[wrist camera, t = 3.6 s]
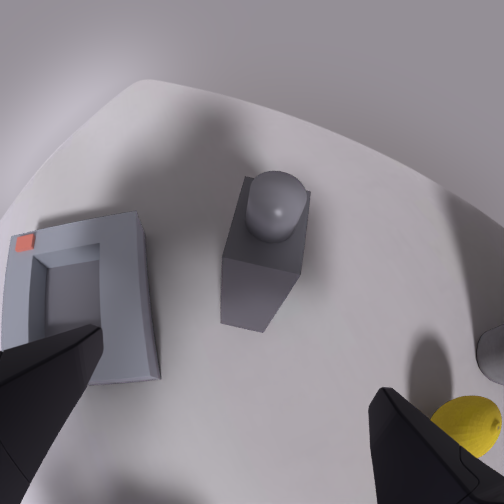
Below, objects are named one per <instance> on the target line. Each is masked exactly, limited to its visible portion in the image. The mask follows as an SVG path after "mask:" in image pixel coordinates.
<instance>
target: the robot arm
mask: <svg viewBox="0 0 504 504" xmlns="http://www.w3.org/2000/svg"><path fill="white" fill-rule="evenodd" d="M103 351H104V343H103V330H102V328H101V327H99V326H97V325H94V324H87V325H84V326H81V327H78V328H74V329H71V330H68V331H65V332H62V333H59V334H55V335H52V336H49V337H46V338H42V339H39V340H36V341H33V342H29V343H26V344H23V345H19V346H16V347H13V348H9V349H6V350H3V351H0V504H20V503H21V501H22V499H23V497H24V495H25V493H26V491H27V489H28V487H29V486H30V483H31V481H32V479H33V478H34V476H35V474H36V472H37V470H38V468H39V467H40V465H41V463H42V461H43V459H44V458H45V456H46V454H47V452H48V450H49V449H50V447H51V445H52V443H53V442H54V440H55V438H56V437H57V435H58V433H59V432H60V430H61V428H62V427H63V425H64V423H65V422H66V420H67V418H68V417H69V415H70V413H71V412H72V410H73V408H74V407H75V405H76V404H77V402H78V400H79V399H80V397H81V396H82V394H83V392H84V391H85V389H86V387H87V385H88V383H89V381H90V379H91V377H92V375H93V373H94V370H95V368H96V366H97V364H98V362H99V360H100V358H101V356H102V354H103ZM368 414H369V432H370V449H371V457H372V464H373V471H374V479H375V487H376V495H377V504H504V476H502V475H501V474H499V473H498V472H496V471H495V470H493V469H492V468H490V467H489V466H487V465H486V464H485V463H483V462H482V461H480V460H479V459H477V458H476V457H475V456H474V455H472V454H471V453H470V452H468V451H467V450H466V449H465V448H464V447H462V446H461V445H460V446H459V443H457V442H456V441H455V440H454V439H453V438H451V437H450V436H449V435H448V434H447V433H445V432H444V431H443V430H442V429H441V428H439V427H438V426H437V425H436V424H435V423H433V422H432V421H431V420H430V419H429V418H427V417H426V416H425V415H424V414H423V413H421V412H420V411H419V410H418V409H417V408H415V407H414V406H413V405H412V404H411V403H410V402H408V401H407V400H406V399H405V398H404V397H402V396H401V395H400V394H399V393H398V392H396V391H395V390H394V389H393V388H388V387H382V388H380V389H379V390H378V392H377V393H376V395H375V397H374V398H373V400H372V402H371V403H370V405H369V409H368Z"/></svg>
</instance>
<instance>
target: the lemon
mask: <svg viewBox="0 0 504 504" xmlns="http://www.w3.org/2000/svg"><path fill="white" fill-rule="evenodd" d="M430 420H431V421H432V422H433V423H435V424H436V425H437V426H438V427H439V428H441V429H442V430H443V431H444V432H445V433H447V434H448V435H449V436H450V437H451V438H453V439H454V440H455V441H456V442H457V443H459V446H460V445H461V446H462V447H464V448H465V449H466V450H467V451H468V452H470V453H471V454H472V455H474V456H475V457H476V458H479V457H481V456H482V455H484V454H485V453H486V452H488V451H489V450H490V449H491V447H492V446H493V445H494V444H495V442H496V440H497V439H498V436H499V434H500V431H501V425H502V418H501V413H500V411H499V409H498V407H497V405H496V404H495V403H494V402H492V401H491V400H489V399H487V398H484V397H481V396H462V397H458V398H456V399H453V400H451V401H448V402H446V403H445V404H444V405H442V406H441V407H440V408H439V409H438V410H437V411H436V412H435V413H434V414H433V416H432V417H431V419H430Z"/></svg>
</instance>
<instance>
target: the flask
mask: <svg viewBox="0 0 504 504" xmlns="http://www.w3.org/2000/svg"><path fill="white" fill-rule="evenodd" d="M477 360H478V364H479V367H480V369H481V371H482V372H483V374H484V375H485V376H486V377H487V378H488V379H489V380H491V381H493V382H495V383H498V384H501V385H504V324H503V325H501V326H498V327H496V328H494V329H492V330H489V331H487V332H485V333H484V334H483V335H482V336H481V338H480V340H479V343H478V349H477Z"/></svg>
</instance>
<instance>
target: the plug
mask: <svg viewBox="0 0 504 504" xmlns="http://www.w3.org/2000/svg"><path fill="white" fill-rule="evenodd" d="M310 194H311V192H310V191H306V190H305V187H304V186H303V184H302V183H301V182H300V181H299V180H298V179H297V178H295V177H294V176H292V175H290V174H288V173H285V172H281V171H268V172H264V173H262V174H260V175H258V176H257V177H256V178H250V177H246V176H245V179H244V183H243V186H242V189H241V193H240V196H239V200H238V203H237V206H236V210H235V213H234V217H233V220H232V224H231V227H230V231H229V235H228V238H227V242H226V245H225V249H224V252H223V256H222V282H221V323H222V324H226V325H231V326H235V327H239V328H244V329H248V330H253V331H258V332H262V333H263V332H264V331H265V329H266V328H267V326H268V325H269V323H270V321H271V320H272V318H273V317H274V315H275V314H276V312H277V311H278V309H279V308H280V306H281V305H282V303H283V302H284V300H285V298H286V297H287V295H288V294H289V292H290V291H291V289H292V287H293V286H294V284H295V283H296V281H297V279H298V278H299V276H300V275H301V268H302V260H303V253H304V245H305V237H306V229H307V221H308V212H309V203H310Z"/></svg>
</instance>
